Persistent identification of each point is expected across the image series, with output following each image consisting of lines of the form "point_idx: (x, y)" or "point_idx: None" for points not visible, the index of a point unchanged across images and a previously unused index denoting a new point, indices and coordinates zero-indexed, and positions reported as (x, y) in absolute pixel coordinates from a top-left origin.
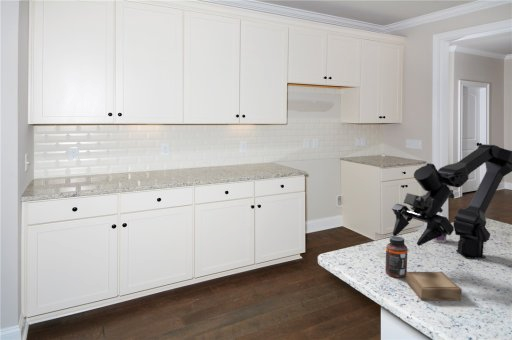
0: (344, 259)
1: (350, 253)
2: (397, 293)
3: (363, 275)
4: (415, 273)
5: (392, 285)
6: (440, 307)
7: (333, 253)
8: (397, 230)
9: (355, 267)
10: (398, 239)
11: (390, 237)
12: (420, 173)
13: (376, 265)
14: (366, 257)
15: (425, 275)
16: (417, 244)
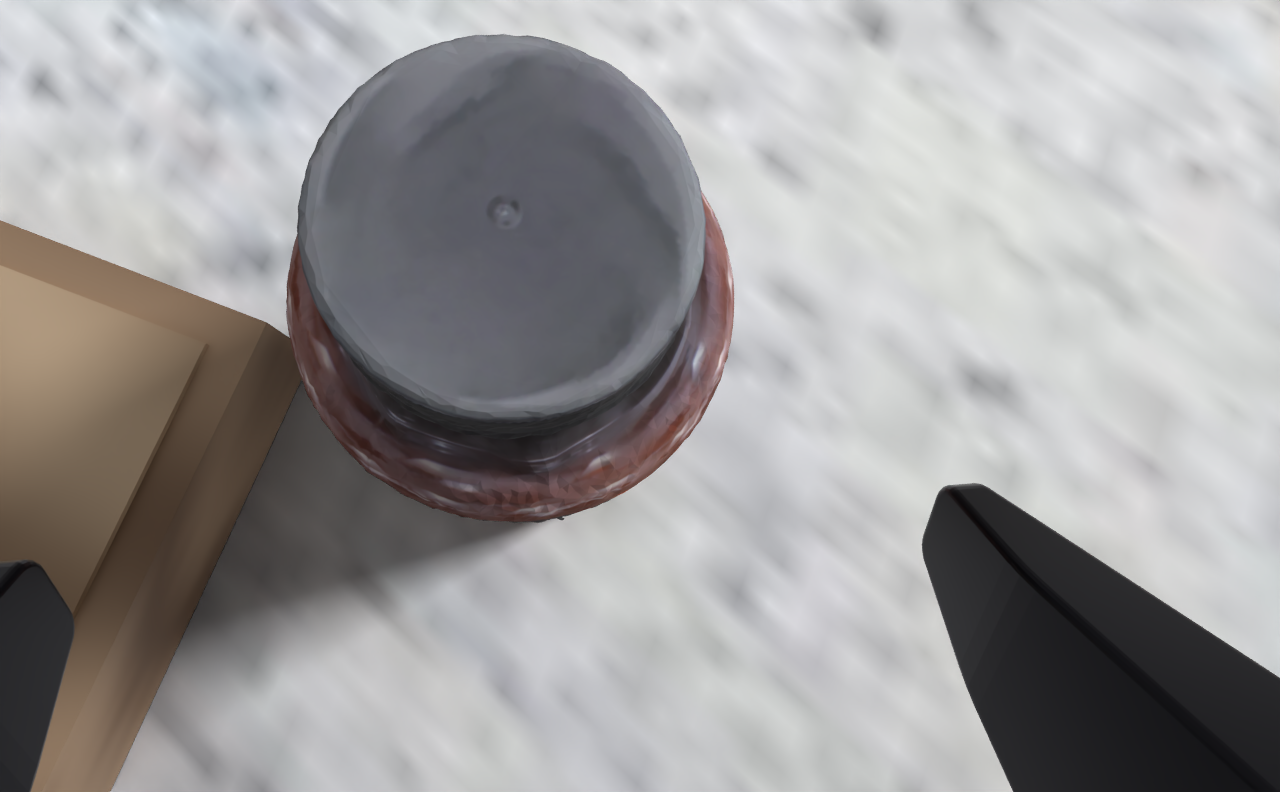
0: (1084, 97)
1: (1227, 270)
2: (137, 74)
3: (641, 28)
4: (147, 393)
5: (309, 152)
6: None
7: (1275, 84)
8: (1026, 664)
9: (851, 77)
10: (391, 165)
11: (640, 97)
12: None
13: (819, 336)
14: (1065, 378)
15: (27, 482)
16: (25, 574)
